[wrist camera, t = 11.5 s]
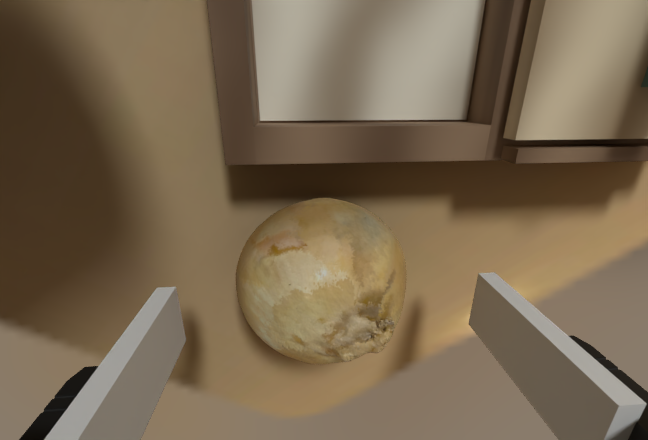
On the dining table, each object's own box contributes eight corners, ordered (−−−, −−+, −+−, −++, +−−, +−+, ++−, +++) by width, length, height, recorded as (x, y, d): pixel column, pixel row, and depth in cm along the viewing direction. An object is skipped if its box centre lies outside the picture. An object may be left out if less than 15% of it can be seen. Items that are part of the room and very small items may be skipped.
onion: (290, 329, 20) (290, 446, 13) (216, 226, 17) (167, 312, 10) (407, 272, 19) (468, 366, 12) (350, 154, 16) (391, 196, 10)
